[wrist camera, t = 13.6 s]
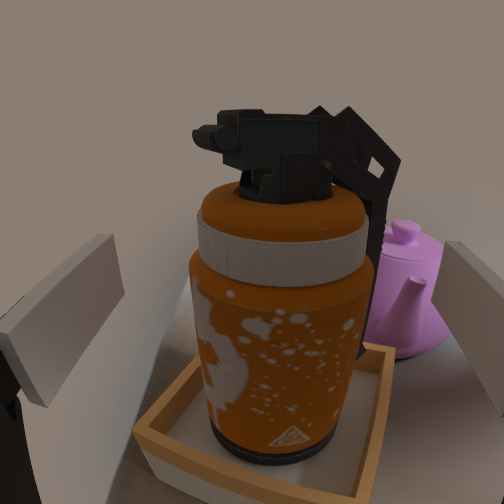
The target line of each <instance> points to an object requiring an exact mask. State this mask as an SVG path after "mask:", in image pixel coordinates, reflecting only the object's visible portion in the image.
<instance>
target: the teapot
mask: <svg viewBox="0 0 504 504" xmlns="http://www.w3.org/2000/svg"><path fill="white" fill-rule="evenodd" d="M391 225H392V227H389V226H385V227H386V228H385V231H384V234H385V235H384V238H383V241H384V242H383V245H382V252H381V255H380V261H379V267H378V273H377V278H376V284H375V289H374V294H373V299H372V304H371V309H370V314H369V318H368V323H367V327H366V331H365V336H364V340H363V342H367V343H372V344H378V345H383V346H389V347H394V348H396V349H395V358H408V357H413V356H416V355H420V354H422V353H425V352H427V351H429V350H432V349H433V348H435V347H437V346H438V345H440V344H441V343H442V342H443V341H444V340H445V339H446V338H447V337H448V335H449V334H450V332H451V331H450V330H449V328H448V326H447V325H446V323H445V322H444V320H443V319H442V317H441V316H440V314H439V313H438V311H437V310H436V308H435V307H434V305H433V304H432V302H431V298H432V294H433V290H434V287H435V283H436V279H437V275H438V271H439V267H440V263H441V259H442V254H443V250H444V248H443V246H442V245H441V244H440V243H439V242H438V241H437V240H435V239H434V238H432V237H430V236H428V235H426V234H424V233H421V232H420V229H421V227H420V226H419V225H418V224H416V223H414V222H412V221H408V220H395V221H392V223H391Z"/></svg>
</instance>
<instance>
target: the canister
mask: <svg viewBox="0 0 504 504" xmlns="http://www.w3.org/2000/svg"><path fill="white" fill-rule="evenodd" d="M192 137H193V140H194V142H195V143H196V145H197V146H199V147H200V148H203V149H206V150H210V151H214V152H218V153H221V154H223V164H225V165H228V166H230V167H233V168H236V169H238V170H241V171H242V174H241V179H240V181H239V182H233V183H229V184H226V185H222V186H220V187H217V188H215V189H214V190H212V191H211V192H210V193H209V194H208V195H207V196H206V197H205V198H204V200H203V203H202V205H201V209H200V210H199V211H198V214H197V223H198V242H199V249H198V250H197V251H196V252H195V253H194V254H193V256H192V257H191V259H190V262H189V275H190V284H191V293H192V301H193V310H194V318H195V326H196V333H197V341H198V348H199V355H200V362H201V368H202V375H203V382H204V388H205V394H206V400H207V406H208V412H209V418H210V423H211V428H212V430H213V433H214V435H215V437H216V438H217V440H218V442H219V443H220V444H221V445H222V446H223V447H224V448H225V449H226V450H227V451H229V452H230V453H231V454H233V455H234V456H236V457H238V458H240V459H242V460H244V461H247V462H250V463H253V464H257V465H262V466H286V465H291V464H295V463H299V462H301V461H304V460H307V459H309V458H310V457H312V456H314V455H316V454H317V453H318V452H320V451H321V450H322V449H323V448H324V447H325V446H326V445H327V444H328V443H329V441H330V440H331V438H332V437H333V435H334V433H335V430H336V427H337V424H338V421H339V417H340V414H341V411H342V408H343V404H344V401H345V397H346V394H347V390H348V387H349V383H350V380H351V376H352V372H353V368H354V364H355V362H356V361H357V360H358V359H359V358H360V357H361V356H362V355H363V354H364V353H365V352H366V349H365V347H364V345H363V340H364V336H365V331H366V327H367V323H368V318H369V314H370V309H371V304H372V299H373V294H374V289H375V284H376V278H377V273H378V267H379V261H380V255H381V252H382V245H383V242H384V241H383V238H384V235H385V234H384V231H385V228H386V227H385V224H386V213H387V205H388V198H389V195H390V193H391V190H392V187H393V184H394V181H395V178H396V175H397V172H398V168H399V166H400V162H401V160H400V158H399V157H398V156H397V155H396V154H395V153H394V152H393V151H392V150H391V149H390V147H389V146H388V145H387V144H386V143H385V142H384V141H383V140H382V139H381V138H380V137H379V136H378V135H377V134H376V132H375V131H374V130H373V129H372V128H371V127H370V126H369V125H368V124H367V123H365V121H364V120H363V119H362V118H361V117H359V115H358V114H357V113H356V112H354V111H353V109H352V108H351V107H349V106H348V107H346V108H345V109H344V110H342V111H341V112H340V113H339V114H337V115H336V116H332V115H330V114H329V113H328V112H327V111H326V110H325V109H324V108H323V107H321V106H318V107H317V108H315V109H314V110H313V111H311V112H310V113H308V114H307V115H299V114H265V113H264V111H263V110H262V109H239V110H223V111H220V112H219V113H218V114H217V125H203V126H201V127H200V128H199V129H198V130H193V132H192ZM372 156H373V157H374V159H375V160H376V161H377V162H378V163H379V164H380V165H381V166H382V167H383V168H384V171H383V173H382V175H381V177H380V178H377V177H376V176H375V175H373V174H372V173H370V172H369V171H368V167H369V164H370V161H371V158H372ZM355 161H356V162H355ZM252 178H253V179H252ZM332 183H333V184H335V185H336V186H335V185H331V184H332Z"/></svg>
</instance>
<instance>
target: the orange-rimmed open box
mask: <svg viewBox="0 0 504 504" xmlns="http://www.w3.org/2000/svg"><path fill="white" fill-rule="evenodd" d="M363 345H364V347H365V349H366V352H365V353H364V354H363V355H362V356H361V357H360V358H359V359H358V360H357V361H356V362H355V364H354V368H353V372H352V376H351V380H350V383H349V387H348V390H347V394H346V397H345V401H344V404H343V408H342V411H341V414H340V417H339V421H338V424H337V427H336V430H335V433H334V435H333V437H332V438H331V440H330V441H329V443H328V444H327V445H326V446H325V447H324V448H323V449H322V450H321V451H320V452H318V453H317V454H316V455H314V456H312V457H310V458H309V459H307V460H304V461H301V462H299V463H295V464H291V465H286V466H262V465H257V464H253V463H250V462H247V461H244V460H242V459H240V458H238V457H236V456H234V455H233V454H231V453H230V452H229V451H227V450H226V449H225V448H224V447H223V446H222V445H221V444H220V443H219V442H218V440H217V438H216V437H215V435H214V433H213V430H212V428H211V423H210V418H209V412H208V406H207V400H206V394H205V388H204V382H203V375H202V368H201V362H200V355H199V353H198V354H197V355H196V356H195V358H194V359H193V360H192V361H191V362H190V363H189V364H188V366H187V367H186V368H185V369H184V370H183V371H182V372H181V373H180V375H179V376H178V377H177V378H176V379H175V380H174V381H173V383H172V384H171V385H170V386H169V387H168V388H167V389H166V390H165V392H164V393H163V394H162V395H161V396H160V397H159V398H158V399H157V401H156V402H155V403H154V404H153V405H152V406H151V407H150V408H149V409H148V411H147V412H146V413H145V414H144V415H143V416H142V417H141V418H140V419H139V421H138V422H137V423H136V424H135V425H134V426H133V427H132V428H131V431H132V433H133V435H134V437H135V439H136V441H137V443H138V445H139V446H140V448H141V450H142V452H143V454H144V456H145V458H146V460H147V461H148V463H149V465H150V467H151V469H152V470H153V472H154V474H155V476H156V477H157V479H159V480H161V481H163V482H164V483H166V484H168V485H170V486H172V487H174V488H176V489H178V490H180V491H182V492H184V493H186V494H189V495H191V496H193V497H195V498H197V499H199V500H202V501H204V502H206V503H208V504H368V503H369V499H370V495H371V492H372V488H373V484H374V480H375V475H376V471H377V467H378V462H379V458H380V453H381V448H382V443H383V437H384V432H385V426H386V420H387V414H388V408H389V401H390V394H391V386H392V378H393V370H394V360H395V349H396V348H394V347H389V346H383V345H378V344H372V343H367V342H363Z"/></svg>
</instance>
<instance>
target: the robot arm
mask: <svg viewBox="0 0 504 504" xmlns="http://www.w3.org/2000/svg"><path fill="white" fill-rule="evenodd" d="M124 294H125V293H124V288H123V283H122V279H121V274H120V269H119V264H118V259H117V253H116V247H115V242H114V236H113V234H97V235H95V236H94V237H93V238H92V239H90V240H89V241H88V242H87V243H86V244H84V245H83V246H82V247H81V248H79V249H78V250H77V251H76V252H74V253H73V254H72V255H71V256H70V257H68V258H67V259H66V260H65V261H64V262H63V263H61V264H60V265H59V266H58V267H57V268H56V269H54V270H53V271H52V272H51V273H50V274H49V275H47V277H45V278H44V279H43V280H42V281H41V282H40V283H38V284H37V285H36V286H35V287H34V288H33V289H32V290H31V291H30V292H29V293H28V294H26V295H25V296H23V297H22V298H21V299H20V300H19V301H18V302H17V303H16V304H15V306H13V307H12V308H11V309H10V310H9V311H8V312H7V313H6V314H4V315H3V316H2V317H1V318H0V504H42V503H41V500H40V496H39V493H38V489H37V485H36V482H35V478H34V474H33V470H32V465H31V461H30V456H29V452H28V446H27V442H26V436H25V430H24V424H23V417H22V409H21V403H20V400H19V399H18V397H17V393H18V392H19V390H20V389H22V390H23V392H24V394H25V395H26V397H27V399H28V400H29V401H30V402H32V403H35V404H37V405H40V406H43V407H46V408H48V406H49V404H50V403H51V401H52V399H53V398H54V396H55V395H56V393H57V392H58V390H59V388H60V387H61V385H62V384H63V382H64V381H65V379H66V378H67V376H68V374H69V373H70V371H71V370H72V368H73V367H74V365H75V364H76V362H77V361H78V359H79V358H80V356H81V355H82V353H83V352H84V351H85V349H86V348H87V346H88V345H89V343H90V342H91V340H92V339H93V338H94V336H95V335H96V333H97V332H98V330H99V329H100V327H101V326H102V325H103V323H104V322H105V320H106V319H107V318H108V316H109V315H110V313H111V312H112V311H113V309H114V308H115V307H116V305H117V304H118V302H119V301H120V300H121V298H122V297H123V296H124ZM431 302H432V304H433V305H434V307H435V308H436V310H437V311H438V313H439V314H440V316H441V317H442V319H443V320H444V322H445V323H446V325H447V326H448V328H449V330H450V331H451V333H452V334H453V336H454V337H455V339H456V341H457V342H458V344H459V346H460V347H461V349H462V350H463V352H464V354H465V355H466V357H467V359H468V361H469V362H470V364H471V366H472V367H473V369H474V371H475V373H476V374H477V376H478V378H479V380H480V381H481V383H482V385H483V387H484V389H485V391H486V392H487V394H488V396H489V398H490V400H491V402H492V404H493V406H494V408H495V410H496V411H497V413H498V415H499V417H500V418H501V417H504V281H503V280H502V279H501V278H500V277H498V276H497V275H496V274H495V273H494V272H493V271H492V270H491V269H490V268H489V267H488V266H487V265H486V264H485V263H484V262H482V261H481V260H480V259H479V258H478V257H477V256H476V255H475V254H474V253H472V252H471V251H470V250H469V249H468V248H467V247H465V245H463V244H462V243H461V242H454V241H445V245H444V250H443V254H442V259H441V263H440V267H439V271H438V275H437V279H436V283H435V287H434V290H433V294H432V298H431ZM501 504H504V497H503V500H502V503H501Z"/></svg>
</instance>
